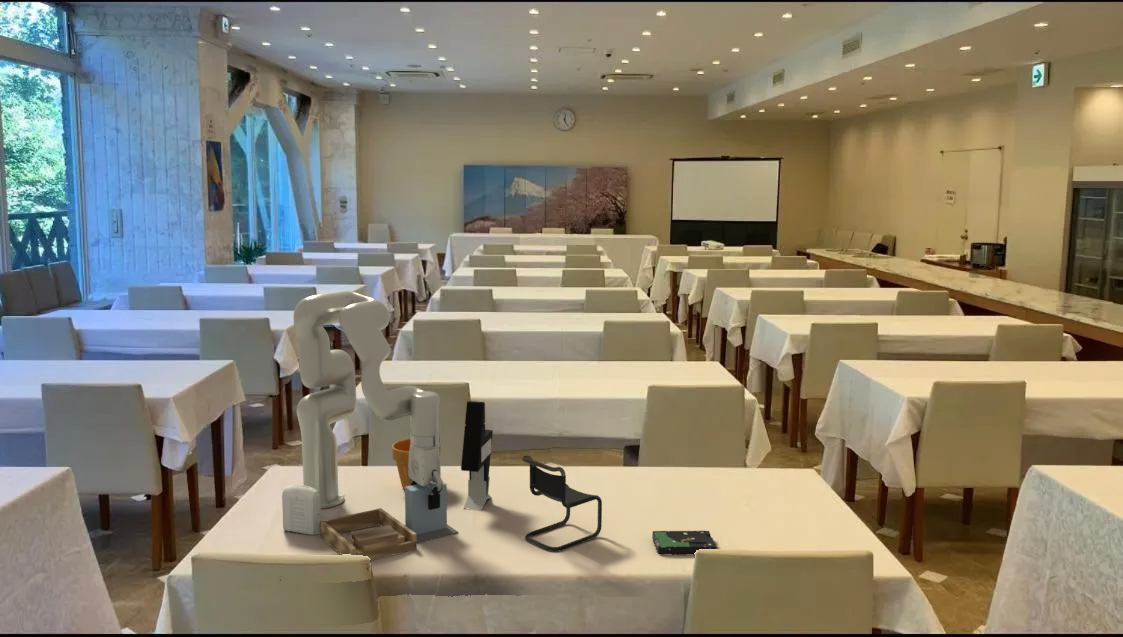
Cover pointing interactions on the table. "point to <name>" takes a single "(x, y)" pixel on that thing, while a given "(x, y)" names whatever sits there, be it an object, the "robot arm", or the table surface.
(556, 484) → the chair
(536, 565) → the table surface
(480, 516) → the table surface
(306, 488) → the white rounded tombstone
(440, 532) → the mat
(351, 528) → the wooden frame
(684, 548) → the disk drive
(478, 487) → the award
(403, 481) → the flower pot
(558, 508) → the table surface
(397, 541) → the offcut stack
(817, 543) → the table surface
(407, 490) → the rectangular block
